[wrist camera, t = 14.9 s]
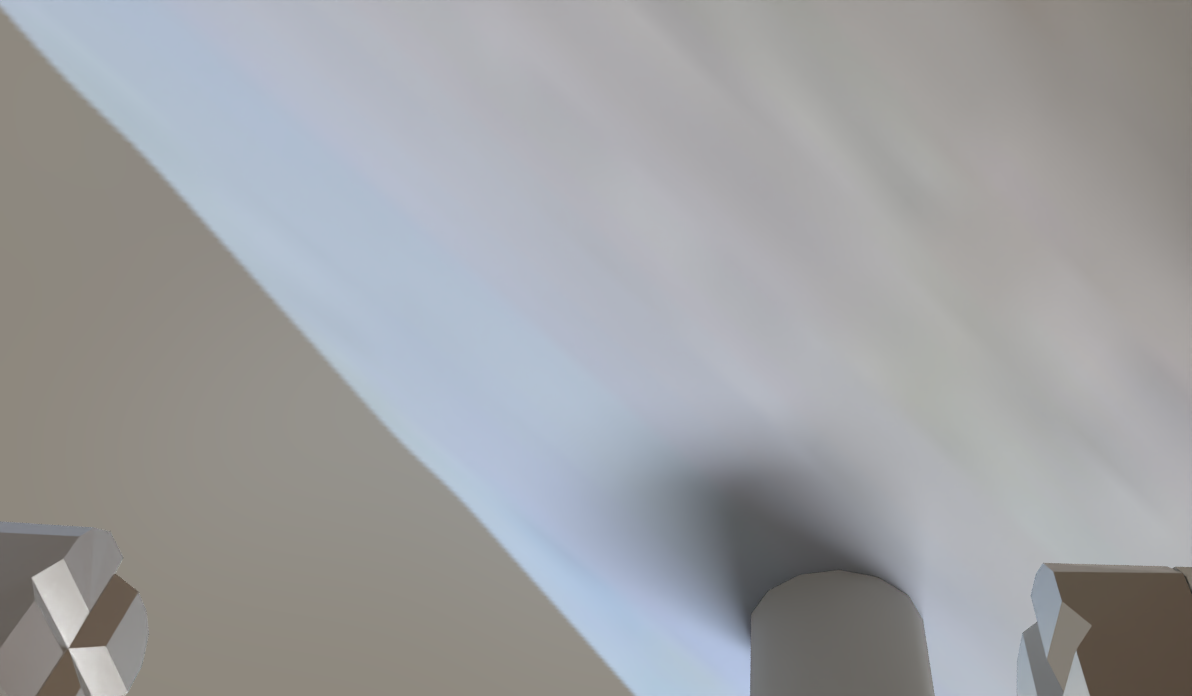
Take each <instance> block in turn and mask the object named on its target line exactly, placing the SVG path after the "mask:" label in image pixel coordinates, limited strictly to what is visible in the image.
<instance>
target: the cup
mask: <svg viewBox="0 0 1192 696" xmlns="http://www.w3.org/2000/svg"><path fill="white" fill-rule="evenodd" d="M750 696H935V695H934V689H933V682H932V675H931V669H930V662H929V656H928V649H927V643H926V636H925V630H924V623H923V620H922V618H921V616H920V614H919V613H918V611H917V609H916V608H915V606H914V604H913V602H912V601H911V599H910V597H909V596H908V595H907V594H905V593H903V592H902V591H900V590H898V589H897V588H895V587H893V586H892V585H890V584H888V583H887V582H885V581H884V580H882V579H880V578H879V577H874V576H869V575H864V574H858V573H853V572H848V571H843V570H834V571H826V572H818V573H810V574H802V575H798V576H796V577H794V578H792V579H790V580H788V581H786V582H784V583H782V584H780V585H778V586H776V587H775V588H773V589H771V590H769V591H768V592H767V593H766V594H765V596H764V597H763V598H762V600H761V601H760V603H759V604H758V605H757V607H756V608H755V609H754V611H753V612H752V614H751V674H750Z"/></svg>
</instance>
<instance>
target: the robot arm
mask: <svg viewBox="0 0 1192 696" xmlns="http://www.w3.org/2000/svg"><path fill="white" fill-rule="evenodd" d="M122 559H123V556H122V554H121V552H120V550H119V548H118V546H117V544H116V542H115V540H114V538H113V536H112V534H111V532H110V531H105V530H102V529H97V528H91V527H75V526H59V525H43V524H29V523H12V522H0V696H124V695H125V694H127V693H128V691H129V689H130V688H131V686H132V684H133V682H134V680H135V678H136V676H137V674H138V672H139V671H140V668H141V667H142V664H143V659H144V654H145V649H146V645H147V639H148V635H149V631H148V622H147V613H146V609H145V606H144V604H143V602H142V599H141V597H140V595H139V592H138V591H137V590H136V589H134V588H133V587H132V586H130V585H129V584H128V583H126V582H125V581H124V580H123V579H122V578H120V577H119V576H118V575H116V574H115V573H116V571H117V569H118V567H119V565H120V563H121V561H122ZM1031 599H1032V603H1033V607H1034V611H1035V615H1036V619H1037V622H1036V623H1035V624H1034V625H1032V626H1031V627H1030V628H1028V629H1027V630H1026V631H1024V632H1023V633H1022V638H1021V643H1020V649H1019V654H1018V660H1017V696H1192V567H1174V568H1169V567H1166V566H1131V565H1096V564H1061V563H1043V564H1042V565H1041V567H1040V568H1039V570H1038V572H1037V573H1036V576H1035V580H1034V584H1033V589H1032V593H1031Z"/></svg>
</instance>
